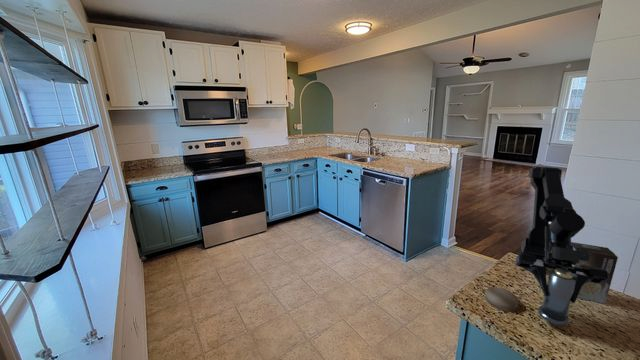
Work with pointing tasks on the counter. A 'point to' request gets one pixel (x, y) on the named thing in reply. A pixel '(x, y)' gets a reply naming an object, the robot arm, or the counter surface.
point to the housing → (558, 297)
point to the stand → (501, 299)
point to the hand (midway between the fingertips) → (559, 299)
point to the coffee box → (599, 259)
